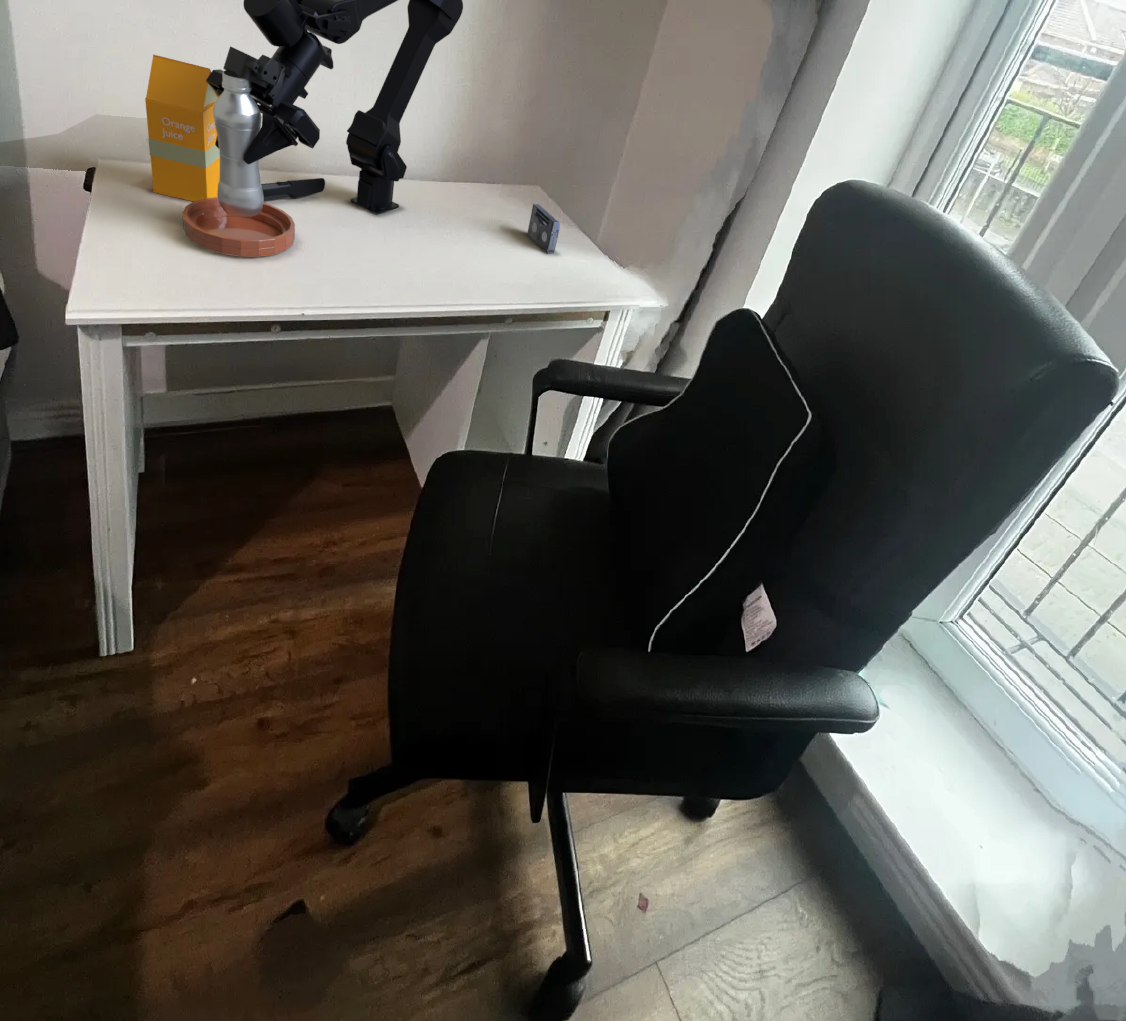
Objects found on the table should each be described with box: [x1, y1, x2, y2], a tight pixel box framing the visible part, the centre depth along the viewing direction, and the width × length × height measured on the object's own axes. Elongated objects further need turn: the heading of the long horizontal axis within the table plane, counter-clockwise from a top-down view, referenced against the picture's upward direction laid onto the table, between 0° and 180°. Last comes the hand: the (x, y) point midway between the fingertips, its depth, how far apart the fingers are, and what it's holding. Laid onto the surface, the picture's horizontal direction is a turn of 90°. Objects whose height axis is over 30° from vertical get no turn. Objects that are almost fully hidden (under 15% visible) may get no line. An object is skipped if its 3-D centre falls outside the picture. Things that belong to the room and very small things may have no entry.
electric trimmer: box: [261, 177, 326, 201], centre depth 144 cm, size 4×16×3 cm, turn 140°
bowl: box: [181, 196, 296, 258], centre depth 128 cm, size 16×16×3 cm
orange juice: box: [144, 54, 220, 202], centre depth 132 cm, size 8×9×20 cm
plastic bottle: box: [213, 69, 265, 217], centre depth 121 cm, size 6×7×20 cm
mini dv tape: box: [526, 203, 561, 254], centre depth 153 cm, size 8×2×6 cm, turn 31°
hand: (231, 154), depth 121 cm, fingers closed on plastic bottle, 6 cm apart
